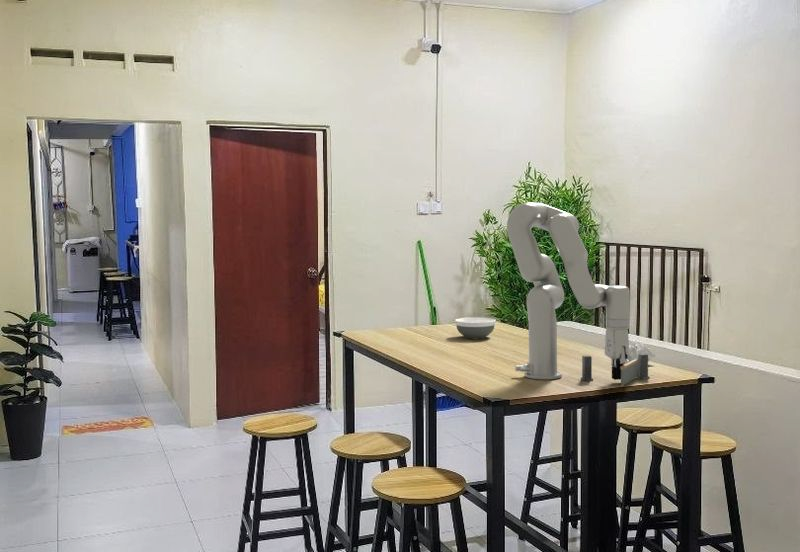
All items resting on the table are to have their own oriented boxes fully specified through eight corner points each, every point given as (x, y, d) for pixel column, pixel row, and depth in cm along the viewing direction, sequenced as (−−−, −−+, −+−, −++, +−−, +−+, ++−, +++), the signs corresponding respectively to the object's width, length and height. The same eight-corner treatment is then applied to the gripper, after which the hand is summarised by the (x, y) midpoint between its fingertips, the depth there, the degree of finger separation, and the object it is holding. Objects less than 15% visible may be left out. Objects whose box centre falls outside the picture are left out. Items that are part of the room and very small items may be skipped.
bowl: (462, 341, 352) (462, 323, 351) (449, 335, 370) (449, 318, 369) (502, 339, 356) (501, 321, 355) (487, 333, 374) (487, 316, 374)
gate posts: (583, 380, 265) (583, 357, 264) (580, 379, 268) (580, 355, 267) (649, 378, 267) (649, 354, 266) (645, 376, 270) (645, 353, 269)
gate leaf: (624, 385, 255) (624, 367, 254) (619, 385, 256) (620, 366, 255) (639, 376, 268) (639, 358, 268) (635, 376, 269) (635, 358, 269)
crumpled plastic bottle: (622, 352, 299) (639, 336, 294) (637, 371, 296) (655, 355, 291) (608, 357, 290) (626, 341, 285) (623, 377, 287) (642, 361, 282)
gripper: (598, 321, 267) (598, 375, 268) (615, 327, 252) (614, 384, 253) (620, 320, 267) (619, 374, 269) (637, 326, 252) (637, 383, 254)
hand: (617, 378), depth 261 cm, fingers closed
